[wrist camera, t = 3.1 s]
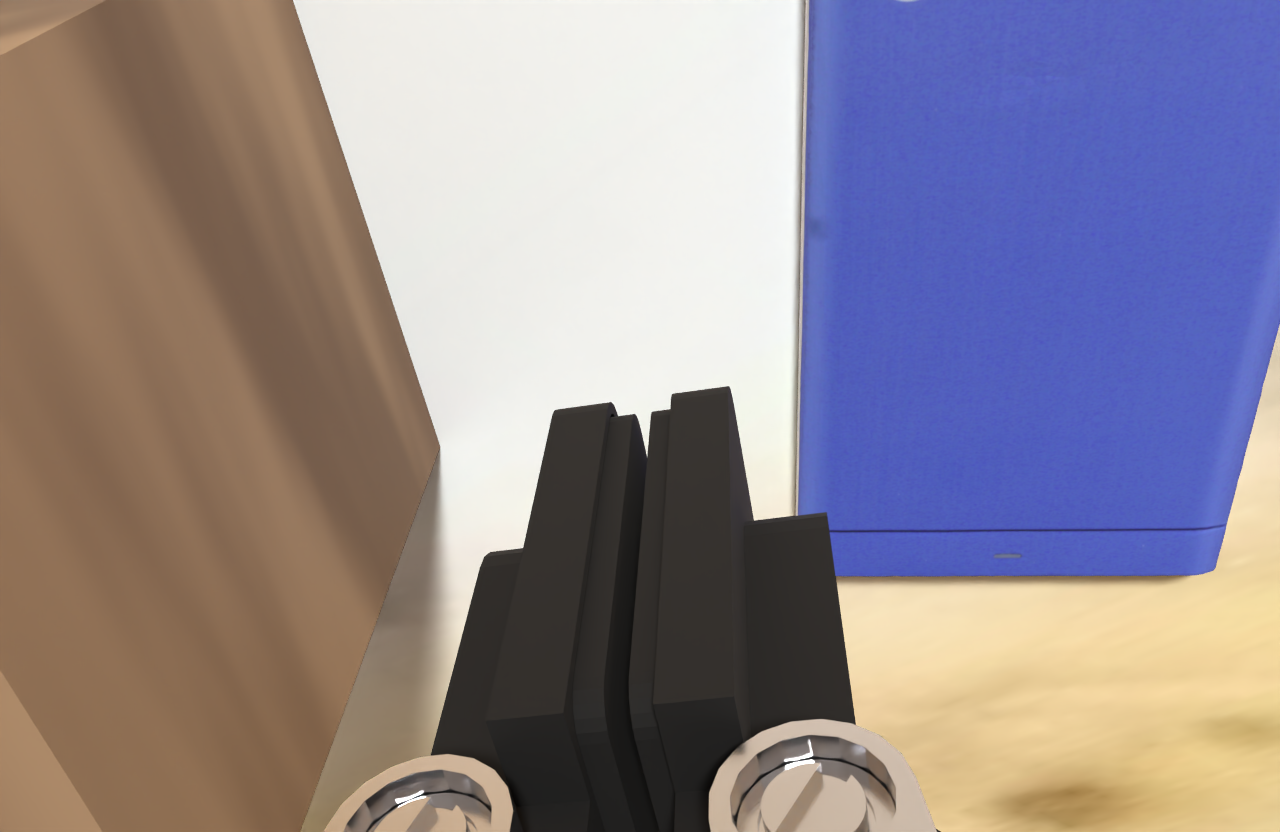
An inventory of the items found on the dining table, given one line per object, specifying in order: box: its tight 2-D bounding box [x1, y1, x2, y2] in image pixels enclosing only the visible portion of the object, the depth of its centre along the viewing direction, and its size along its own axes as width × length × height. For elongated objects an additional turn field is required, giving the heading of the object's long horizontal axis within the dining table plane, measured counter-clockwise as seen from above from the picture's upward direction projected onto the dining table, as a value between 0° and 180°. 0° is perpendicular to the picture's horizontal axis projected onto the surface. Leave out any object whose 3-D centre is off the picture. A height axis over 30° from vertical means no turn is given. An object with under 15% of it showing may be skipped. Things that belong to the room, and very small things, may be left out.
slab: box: [0, 0, 440, 832], centre depth 16 cm, size 4×10×12 cm, turn 11°
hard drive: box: [795, 0, 1280, 576], centre depth 21 cm, size 2×8×12 cm
